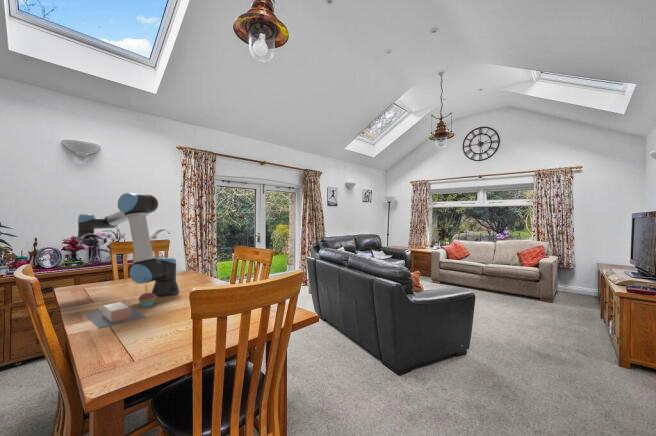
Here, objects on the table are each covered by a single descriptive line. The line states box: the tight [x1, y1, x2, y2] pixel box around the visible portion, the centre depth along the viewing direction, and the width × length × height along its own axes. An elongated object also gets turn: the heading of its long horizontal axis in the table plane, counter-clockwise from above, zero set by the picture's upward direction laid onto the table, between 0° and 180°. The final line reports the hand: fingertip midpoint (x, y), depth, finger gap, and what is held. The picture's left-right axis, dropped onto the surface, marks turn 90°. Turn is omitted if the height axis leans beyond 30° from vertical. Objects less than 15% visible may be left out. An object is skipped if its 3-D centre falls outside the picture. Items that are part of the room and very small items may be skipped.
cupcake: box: [138, 284, 158, 308], centre depth 149 cm, size 9×8×12 cm
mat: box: [83, 304, 147, 330], centre depth 134 cm, size 28×18×1 cm, turn 53°
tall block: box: [102, 301, 130, 322], centre depth 132 cm, size 5×7×14 cm
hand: (101, 242), depth 149 cm, fingers closed
